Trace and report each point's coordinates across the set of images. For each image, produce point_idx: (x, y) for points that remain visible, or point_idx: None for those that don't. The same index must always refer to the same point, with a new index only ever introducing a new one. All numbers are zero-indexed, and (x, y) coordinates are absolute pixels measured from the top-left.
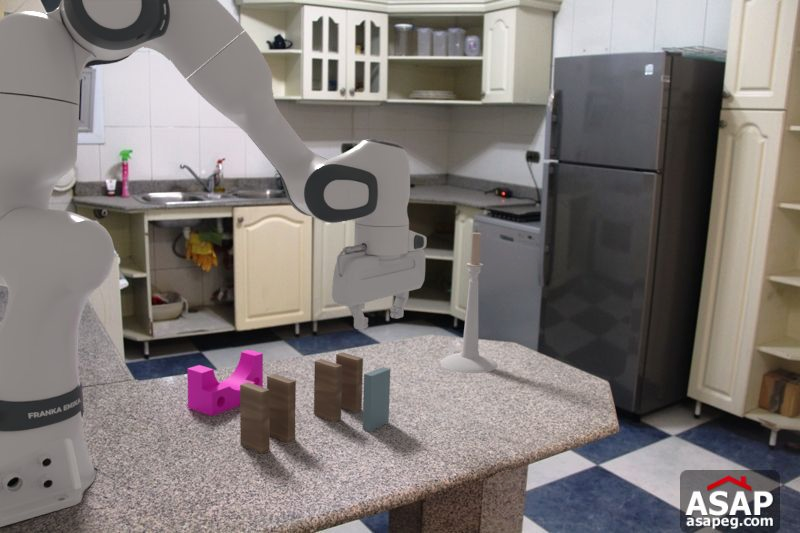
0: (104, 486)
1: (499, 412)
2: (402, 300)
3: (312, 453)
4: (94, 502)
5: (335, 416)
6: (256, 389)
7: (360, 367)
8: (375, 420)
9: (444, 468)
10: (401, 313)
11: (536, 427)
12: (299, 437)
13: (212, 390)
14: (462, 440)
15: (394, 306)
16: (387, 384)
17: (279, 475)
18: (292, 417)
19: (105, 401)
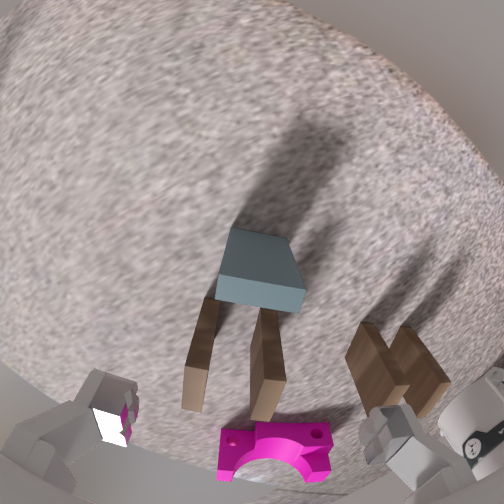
0: (477, 372)
1: (73, 86)
2: (59, 436)
3: (393, 276)
4: (495, 357)
5: (275, 315)
6: (441, 393)
7: (196, 353)
8: (272, 241)
9: (350, 66)
10: (102, 385)
11: (108, 12)
12: (351, 321)
13: (326, 448)
14: (224, 73)
15: (99, 436)
16: (233, 259)
17: (453, 274)
18: (378, 343)
19: (331, 475)
